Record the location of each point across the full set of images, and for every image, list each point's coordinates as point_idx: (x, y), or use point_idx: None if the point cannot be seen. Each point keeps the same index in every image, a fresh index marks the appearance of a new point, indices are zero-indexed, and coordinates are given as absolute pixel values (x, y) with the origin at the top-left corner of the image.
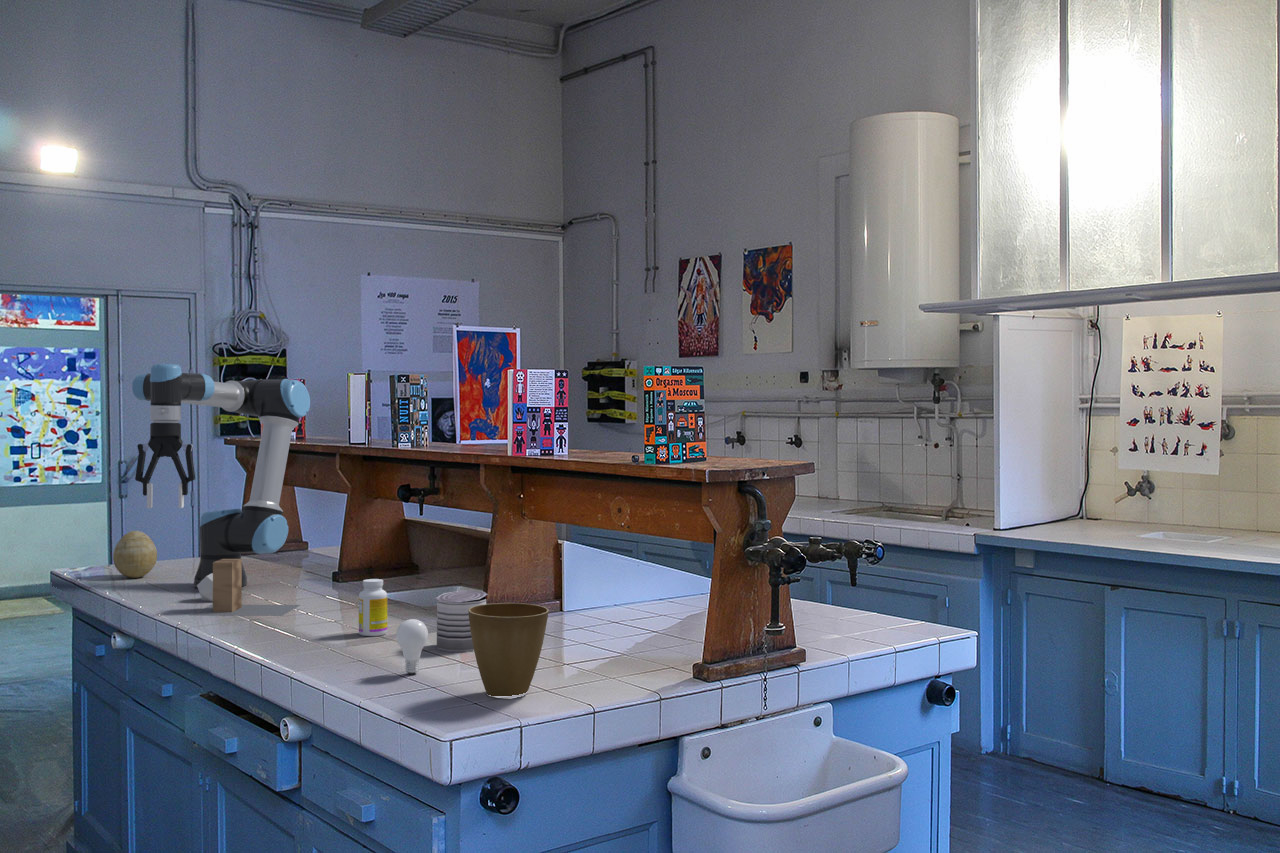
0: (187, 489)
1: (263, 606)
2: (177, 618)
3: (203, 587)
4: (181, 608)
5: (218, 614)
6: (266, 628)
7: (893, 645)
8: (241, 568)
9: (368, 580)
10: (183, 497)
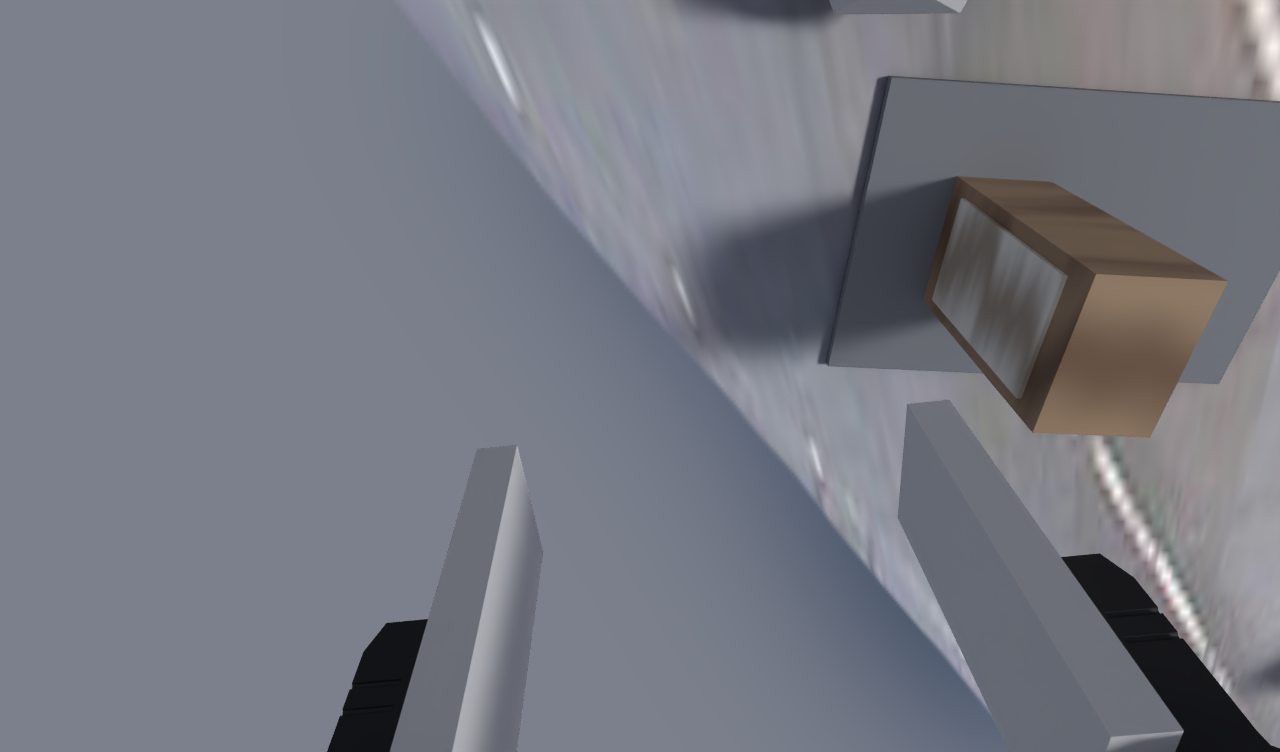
0: (1169, 657)
1: (1163, 153)
2: (786, 381)
3: (855, 1)
4: (737, 131)
5: (953, 354)
6: (1129, 552)
7: None
8: (1181, 257)
9: None
10: (1011, 512)
